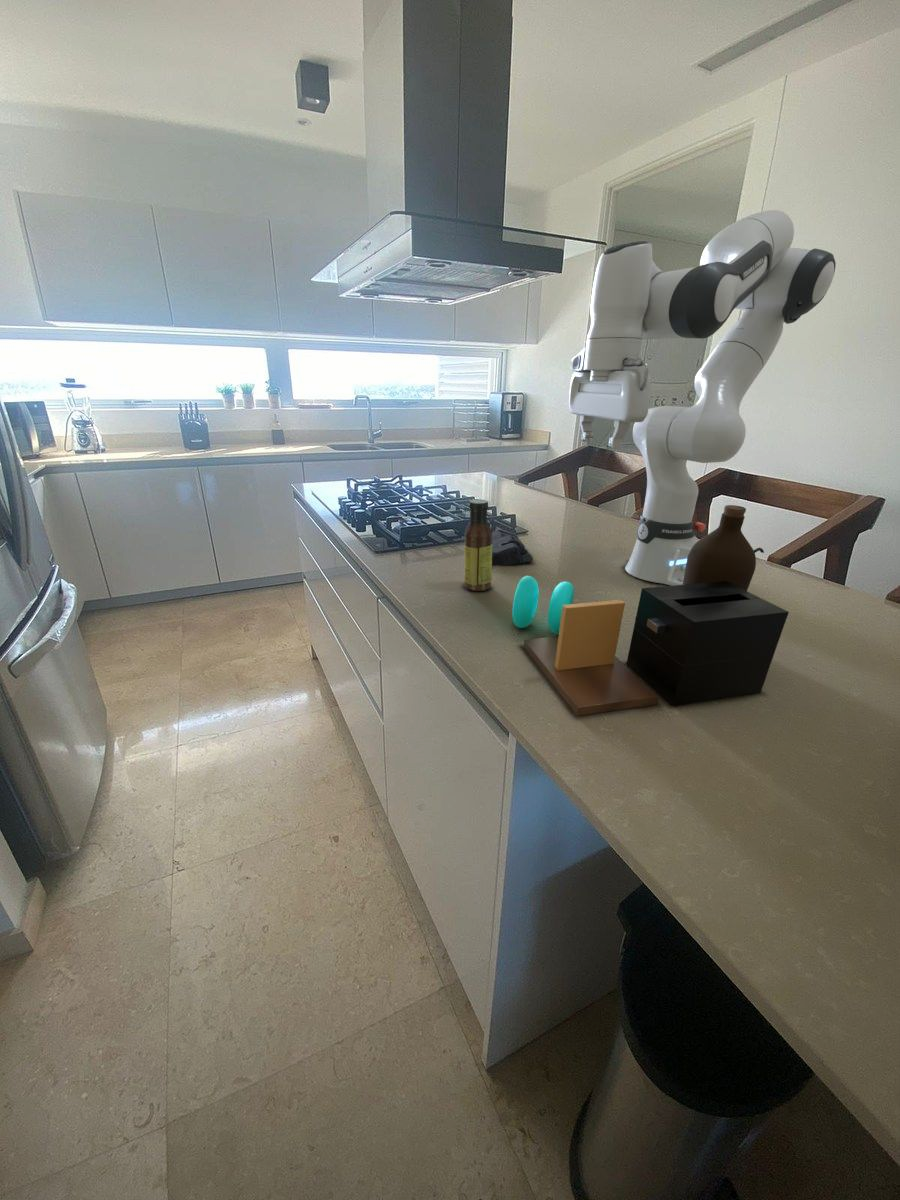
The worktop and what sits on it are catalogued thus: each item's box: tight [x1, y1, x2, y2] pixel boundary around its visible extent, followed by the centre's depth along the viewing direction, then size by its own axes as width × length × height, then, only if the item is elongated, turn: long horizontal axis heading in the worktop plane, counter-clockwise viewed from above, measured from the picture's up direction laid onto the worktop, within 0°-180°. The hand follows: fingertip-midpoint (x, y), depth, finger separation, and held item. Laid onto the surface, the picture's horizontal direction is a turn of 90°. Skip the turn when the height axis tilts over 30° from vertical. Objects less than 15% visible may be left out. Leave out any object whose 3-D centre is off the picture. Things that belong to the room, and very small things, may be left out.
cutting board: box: [523, 635, 659, 717], centre depth 79 cm, size 13×20×2 cm, turn 14°
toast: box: [555, 599, 626, 670], centre depth 76 cm, size 10×1×11 cm, turn 104°
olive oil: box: [683, 504, 757, 592], centre depth 86 cm, size 11×11×25 cm
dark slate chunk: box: [492, 529, 534, 566], centre depth 134 cm, size 15×22×5 cm
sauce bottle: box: [463, 498, 493, 592], centre depth 107 cm, size 7×6×20 cm
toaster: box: [625, 581, 790, 707], centre depth 76 cm, size 18×12×14 cm
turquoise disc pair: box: [511, 575, 575, 636], centre depth 91 cm, size 10×10×10 cm
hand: (600, 445), depth 87 cm, fingers open, 8 cm apart
